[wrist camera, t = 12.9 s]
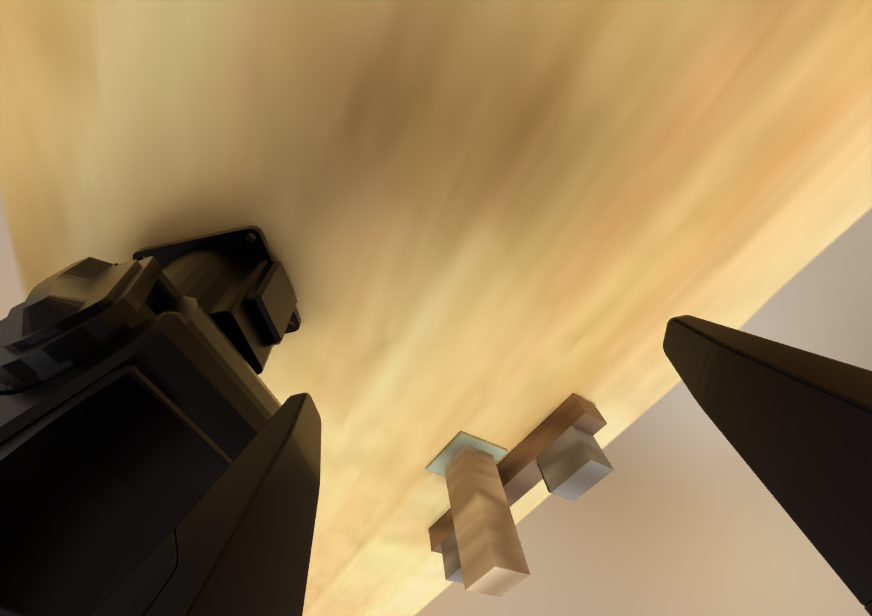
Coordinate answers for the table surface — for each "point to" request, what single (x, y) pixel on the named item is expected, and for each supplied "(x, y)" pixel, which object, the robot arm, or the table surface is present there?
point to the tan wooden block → (483, 524)
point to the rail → (532, 466)
